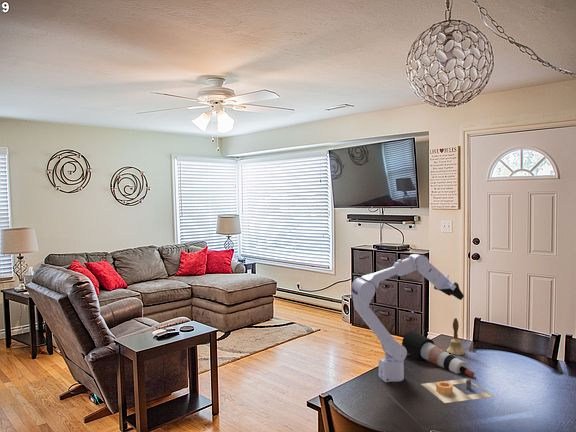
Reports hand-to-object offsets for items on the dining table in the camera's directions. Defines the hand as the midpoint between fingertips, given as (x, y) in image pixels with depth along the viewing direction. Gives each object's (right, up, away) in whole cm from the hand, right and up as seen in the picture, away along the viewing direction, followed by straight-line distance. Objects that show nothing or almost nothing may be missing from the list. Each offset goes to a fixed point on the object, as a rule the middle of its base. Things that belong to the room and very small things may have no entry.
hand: (456, 295), depth 177 cm
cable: (-4, -32, +10) cm, 34 cm away
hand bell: (+10, -31, +26) cm, 42 cm away
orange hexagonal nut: (-11, -32, -18) cm, 38 cm away
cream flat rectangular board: (-6, -33, -17) cm, 38 cm away
